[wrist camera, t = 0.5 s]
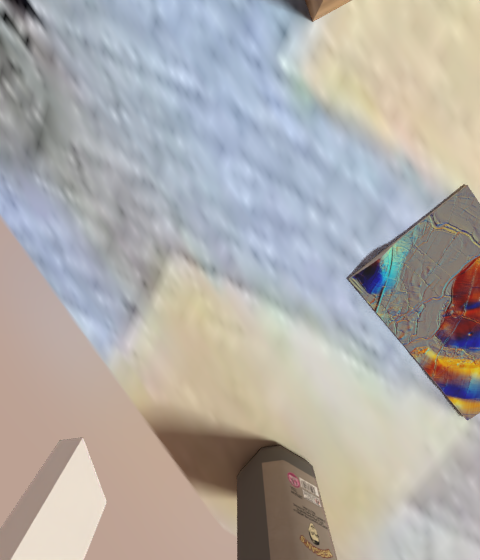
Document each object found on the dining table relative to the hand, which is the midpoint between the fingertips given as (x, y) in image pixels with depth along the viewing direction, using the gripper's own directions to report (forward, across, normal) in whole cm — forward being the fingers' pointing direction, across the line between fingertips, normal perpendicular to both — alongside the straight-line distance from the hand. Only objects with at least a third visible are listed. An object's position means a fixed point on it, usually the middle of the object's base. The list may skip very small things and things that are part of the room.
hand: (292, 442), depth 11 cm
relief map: (+28, +24, -11) cm, 38 cm away
